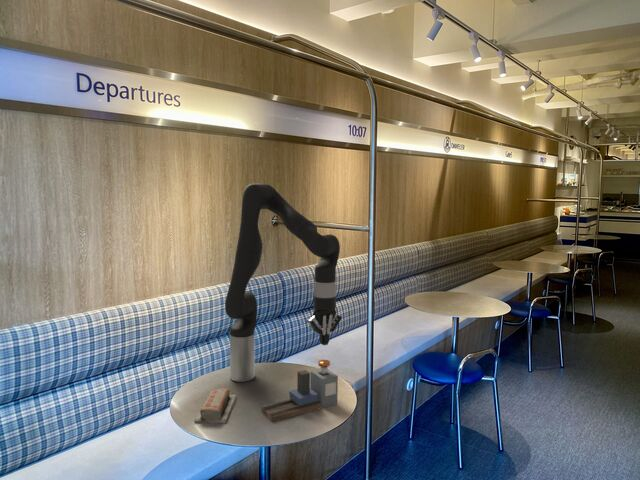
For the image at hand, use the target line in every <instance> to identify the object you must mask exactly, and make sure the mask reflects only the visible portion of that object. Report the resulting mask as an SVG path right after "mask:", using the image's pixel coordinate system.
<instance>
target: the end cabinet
mask: <svg viewBox="0 0 640 480" xmlns="http://www.w3.org/2000/svg"><path fill="white" fill-rule="evenodd" d="M338 380H339V376H338V375H337V374H336V373H334V372H333V371H331V370H329V369H328V375H325V376H322V375H321V368H319V369H314V370H310V389H312V390H313V391H314V392H316V393H317V394H318V400H319V401H320V402H319V403H320V404H321V409H323V408H328V407H331V406H335V405H338V392H339V391H338V389H339V385H338V383H339V382H338Z"/></svg>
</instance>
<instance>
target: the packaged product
mask: <svg viewBox="0 0 640 480" xmlns="http://www.w3.org/2000/svg"><path fill="white" fill-rule="evenodd" d="M230 392H231V390H230V389H229V388H227V387H219V388H216V389H212V390H210V392H209V393H208V395H207V397H206V399H205V401H204V402H203V404H202V406H201V407H200V410H198V413H197V415H196V417H195V419H194V423H195V424H226V423H227V420H228V418H229V416H230V414H231V412H232V410H233V407H234V405H235V401H236V400H237V398H236V397H237V394H230Z"/></svg>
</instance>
